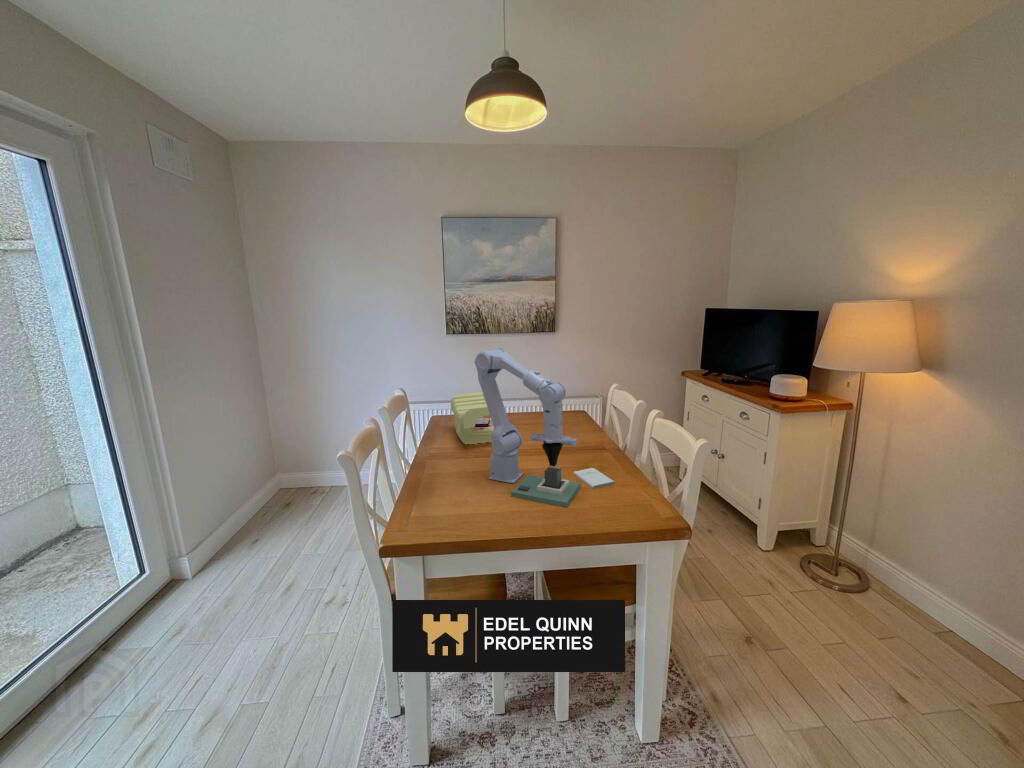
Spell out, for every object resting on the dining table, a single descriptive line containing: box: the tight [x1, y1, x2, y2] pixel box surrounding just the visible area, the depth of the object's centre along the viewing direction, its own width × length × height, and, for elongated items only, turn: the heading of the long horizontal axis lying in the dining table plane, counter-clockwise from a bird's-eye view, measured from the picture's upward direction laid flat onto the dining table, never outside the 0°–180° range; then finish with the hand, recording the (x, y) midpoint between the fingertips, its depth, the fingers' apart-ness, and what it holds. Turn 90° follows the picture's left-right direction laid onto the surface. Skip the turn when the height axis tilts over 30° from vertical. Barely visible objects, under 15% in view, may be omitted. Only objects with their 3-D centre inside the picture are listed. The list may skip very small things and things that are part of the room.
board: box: [510, 473, 582, 508], centre depth 126 cm, size 18×14×3 cm
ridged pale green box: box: [450, 391, 493, 446], centre depth 176 cm, size 30×16×18 cm, turn 18°
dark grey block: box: [544, 465, 562, 489], centre depth 125 cm, size 4×4×6 cm
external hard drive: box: [573, 467, 615, 490], centre depth 135 cm, size 2×8×12 cm
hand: (553, 464), depth 125 cm, fingers closed
